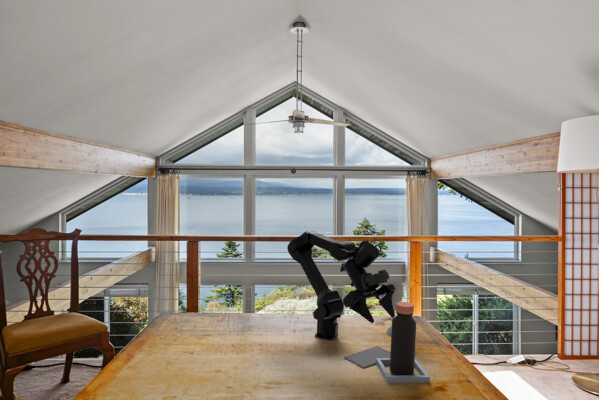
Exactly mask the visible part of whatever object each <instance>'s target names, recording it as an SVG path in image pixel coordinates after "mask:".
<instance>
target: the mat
mask: <svg viewBox="0 0 599 400" xmlns="http://www.w3.org/2000/svg"><path fill="white" fill-rule="evenodd" d="M390 354H391V351H389V350H387V349H385V348H383V347H381V346H379V345H375V346H373V347H370V348H367V349H364V350H361V351H358V352H357V351H356V352H355V353H351V354H349V355H345V356H343V358H344V359H345V358H346V359H345V360H347V361H349V362H351V363H353V364H354V363H355V365H356V364H357V366H358V367H360V368H362V369H366V368H369V367H372V366H375V365H377V364H376V358H390Z"/></svg>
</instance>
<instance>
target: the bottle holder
mask: <svg viewBox="0 0 599 400" xmlns="http://www.w3.org/2000/svg"><path fill="white" fill-rule="evenodd" d="M375 365H376V366H377V367H378V369H379V372H381V374H382V376H383V378H384V379H385V381H386V383H388V384H390V383H391V384H394V383H400V384H401V383H431V376H430V375H429V374H428V373H427V371H426V370H425V369H424V367H423V366H422V365H421V363H420V362H419V361H418V360H417V358H415V361H414V369H415V370H416V371H417V372H418V375H417V374H416V375H414V374H413V375H399V376H396V375H390V374H389V371H388V370H387V368H386V367H385V365H390V358H376V364H375Z"/></svg>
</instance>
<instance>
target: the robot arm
mask: <svg viewBox="0 0 599 400" xmlns="http://www.w3.org/2000/svg"><path fill="white" fill-rule="evenodd" d="M314 247H318V248H320V249H323V250H324V251H327V252H328V253H329V255H330V257H332V258H334V260H337V261H338V262H340V261H341V262H342V261H345V262H344V263H341V265H340V269H339V271H340V273H343V272H346V274H347V275H348V277H349V279H350V281H351V283H350V287H352V288H353V287H354V288H355V290H353V289H352V290H350V291H349V292H348V293H347V294H346V295H345V296H344V297H343V298H342V297H341V296H340V293H339V291H338V290H332V289H330V287H329V286H328V284H327V282H326V281H325V279H324V277H323V275H322V273H321V272H320V270H319V268H318V266H317V264H316V263H315V261H314V259H313V248H314ZM287 251H288V254H289V255H290V257H291V259H292V260H294V261H295V262H297V263H298V264H299V265H300V266H301V269H302V270H303V272H304V274H305V275H306V278H307V280H308V282H309V284H310V285H311V287H312V289H313V291H314V292H315V295H316V306H317V308H315V310H313V312H312V315H313V319H315V320H316V333H315V334H314V337H317V338H321V339H326V340H332V341H333V339H334V338H336V337H337V336H338V335H339V323H338V319H340V318H341V317H342V313H343V312H344V308H345V309H347V308H349V310H352V311H354V312H356V314H358V315H360V316H361V317H362V318H364V319H365V320H367V321H368V322H369V323H371V324H373V323H375V320H374V317H373V314H372V313H371V311H370V308H369V307H368V305H367V300H368V299H370V298H376V299H377V300H378V301H377V302H378V304H379V305H380V306H381V307H382V308H383V309H384V310H385V311H386V313H387V314H388V315H389V316H390V317H391V319H392V318H393V317H394V316H395V315H396V313H395V314H394V309H393V304H392V295H393V294H394V291H395V290H396V288H395V287H394V285H393V284H391V283H389V284H385V283H387V282H389V281H388V280H389V279H390V274H389V272H388V271H387V270H386V269H381V270H378V271H377V273H373V274H372V272H367V270H366V268H369V267H370V266H371V265H372V264H373V263H374V262H375V261H376V260H377V259H378V258H379V257H380V255H381V254H380V250H379V248H378V247H377V246H375V245H374V244H373V243H371V242H369V240H367V239H366V240H362V241H361V242H360V244H359V245H358V246H356V244H355V243H354V242H352V241H347V240H336V239H334V238H332V237H330V236H326V235H324V234H321V233H318V232H317V231H316V230H306V231H304V232H303V233H302V234H301V235H298V236H297V237H295V238H293V239H292V240H290V241H289V243H288V245H287ZM381 284H382V285H381ZM395 317H396V316H395Z"/></svg>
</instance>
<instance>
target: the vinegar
mask: <svg viewBox="0 0 599 400" xmlns="http://www.w3.org/2000/svg"><path fill="white" fill-rule="evenodd" d="M414 308H415V306H414V304H413V303H411V302H408V301H401V302H398V303H396V310H395V314H396V316H395V317H394V318H393V320H392V321H391V325H392V332H391V336H390V337H391V339H390V352H391V354H390V364H389V371H390V373H391V374H393V376H399V375H414V373H415V367H414V361H415V359H416V340H417V339H416V337H417V336H416V335H417V322H416V320H415V319H414V318H413V315H414Z"/></svg>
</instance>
